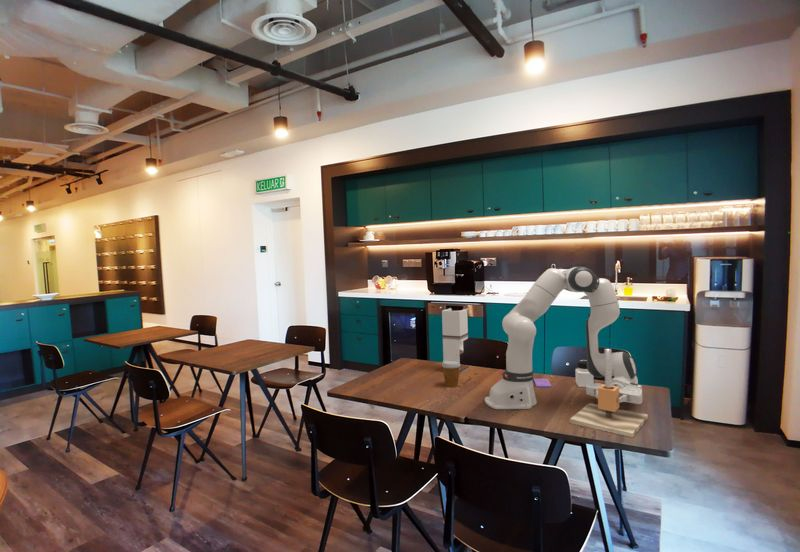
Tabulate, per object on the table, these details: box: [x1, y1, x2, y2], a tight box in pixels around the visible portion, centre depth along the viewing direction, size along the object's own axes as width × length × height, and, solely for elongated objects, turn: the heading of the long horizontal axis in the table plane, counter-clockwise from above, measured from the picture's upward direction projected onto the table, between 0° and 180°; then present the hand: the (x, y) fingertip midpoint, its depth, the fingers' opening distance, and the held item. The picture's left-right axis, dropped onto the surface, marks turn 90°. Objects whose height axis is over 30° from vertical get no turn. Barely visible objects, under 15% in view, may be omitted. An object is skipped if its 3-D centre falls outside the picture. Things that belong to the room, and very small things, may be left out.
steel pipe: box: [604, 348, 613, 418], centre depth 165 cm, size 3×3×26 cm
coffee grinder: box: [441, 307, 470, 374], centre depth 244 cm, size 11×11×35 cm
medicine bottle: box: [574, 359, 595, 388], centre depth 210 cm, size 7×7×12 cm
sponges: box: [533, 378, 552, 389], centre depth 214 cm, size 7×13×2 cm, turn 170°
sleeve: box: [597, 383, 620, 412], centre depth 165 cm, size 6×6×8 cm
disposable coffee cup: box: [441, 360, 462, 388], centre depth 217 cm, size 10×10×12 cm
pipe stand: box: [569, 403, 649, 438], centre depth 166 cm, size 22×22×2 cm
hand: (608, 398), depth 165 cm, fingers closed on sleeve, 6 cm apart
